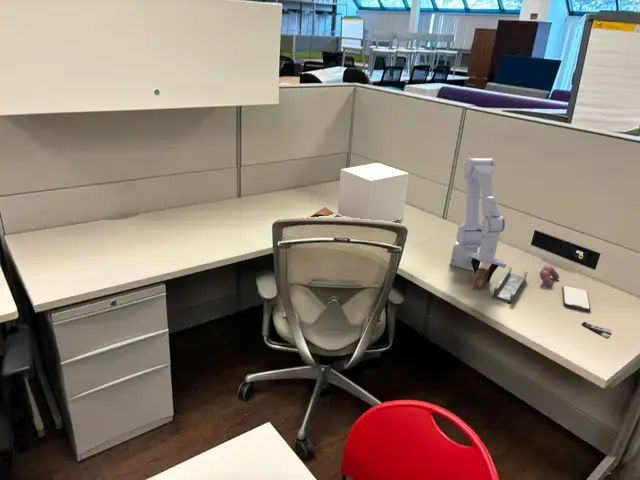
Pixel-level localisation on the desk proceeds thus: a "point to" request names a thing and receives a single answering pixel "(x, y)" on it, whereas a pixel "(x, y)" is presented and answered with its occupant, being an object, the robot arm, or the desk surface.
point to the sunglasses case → (323, 212)
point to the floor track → (509, 286)
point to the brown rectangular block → (481, 276)
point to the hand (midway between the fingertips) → (481, 279)
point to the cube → (372, 192)
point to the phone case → (575, 298)
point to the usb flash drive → (597, 329)
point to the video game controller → (548, 275)
